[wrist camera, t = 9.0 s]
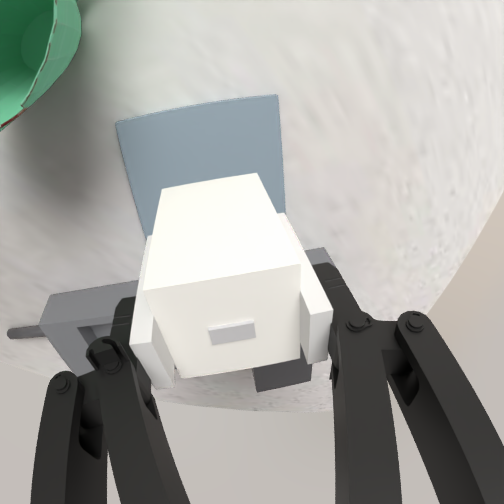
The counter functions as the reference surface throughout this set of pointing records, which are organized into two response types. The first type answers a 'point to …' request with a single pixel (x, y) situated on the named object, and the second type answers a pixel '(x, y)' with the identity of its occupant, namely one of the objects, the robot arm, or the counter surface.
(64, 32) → the mug
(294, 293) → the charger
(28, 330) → the strip
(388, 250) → the counter surface
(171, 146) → the mat
